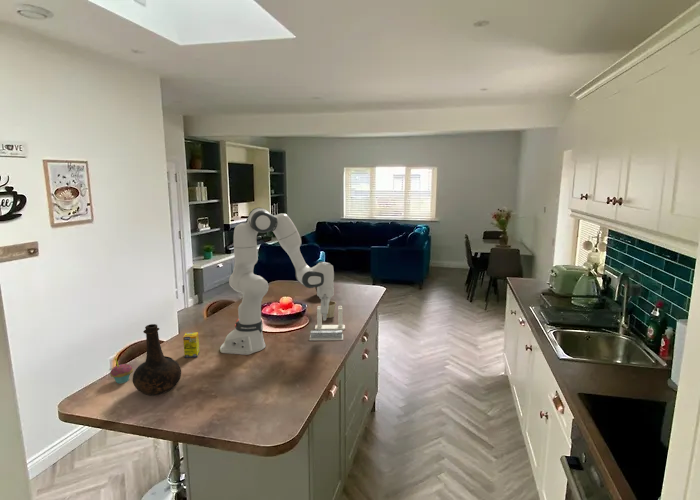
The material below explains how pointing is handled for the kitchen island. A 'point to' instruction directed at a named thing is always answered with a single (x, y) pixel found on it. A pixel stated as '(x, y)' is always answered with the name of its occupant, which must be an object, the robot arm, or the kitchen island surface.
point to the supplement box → (191, 345)
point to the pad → (325, 338)
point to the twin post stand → (329, 327)
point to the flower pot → (331, 309)
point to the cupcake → (121, 372)
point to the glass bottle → (156, 367)
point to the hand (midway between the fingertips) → (325, 317)
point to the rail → (327, 334)
